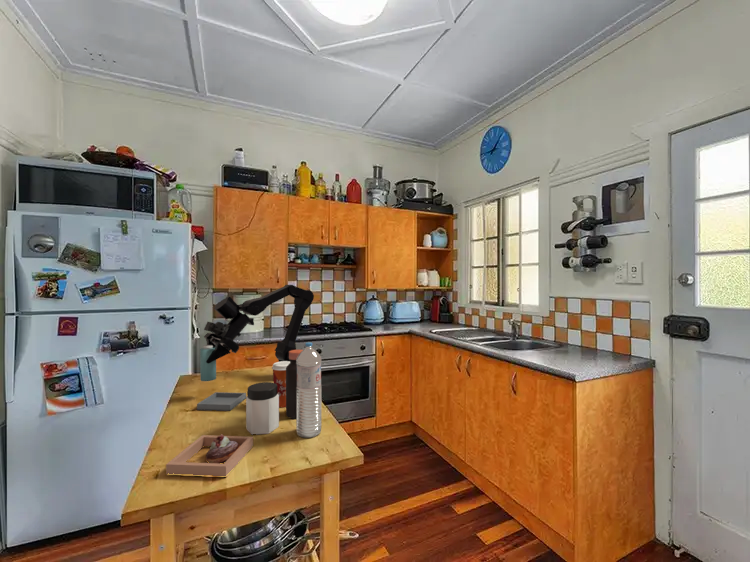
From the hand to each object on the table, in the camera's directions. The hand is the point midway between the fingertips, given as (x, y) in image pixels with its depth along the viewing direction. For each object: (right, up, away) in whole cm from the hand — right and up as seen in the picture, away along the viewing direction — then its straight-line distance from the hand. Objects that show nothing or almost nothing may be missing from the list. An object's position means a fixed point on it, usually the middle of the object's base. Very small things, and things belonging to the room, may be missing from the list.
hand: (204, 361), depth 117 cm
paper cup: (+30, -14, -5) cm, 33 cm away
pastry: (+24, -14, -38) cm, 47 cm away
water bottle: (+42, -14, -26) cm, 51 cm away
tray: (+9, -13, -5) cm, 17 cm away
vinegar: (+36, -14, -13) cm, 41 cm away
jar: (+29, -14, -23) cm, 39 cm away
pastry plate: (+23, -14, -39) cm, 47 cm away
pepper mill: (+1, -7, +1) cm, 7 cm away
